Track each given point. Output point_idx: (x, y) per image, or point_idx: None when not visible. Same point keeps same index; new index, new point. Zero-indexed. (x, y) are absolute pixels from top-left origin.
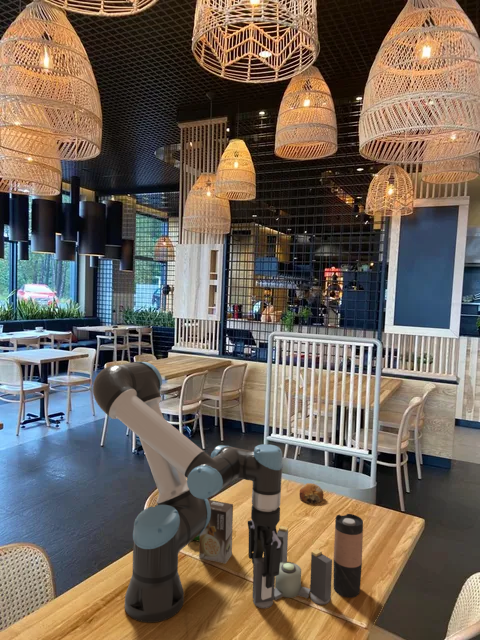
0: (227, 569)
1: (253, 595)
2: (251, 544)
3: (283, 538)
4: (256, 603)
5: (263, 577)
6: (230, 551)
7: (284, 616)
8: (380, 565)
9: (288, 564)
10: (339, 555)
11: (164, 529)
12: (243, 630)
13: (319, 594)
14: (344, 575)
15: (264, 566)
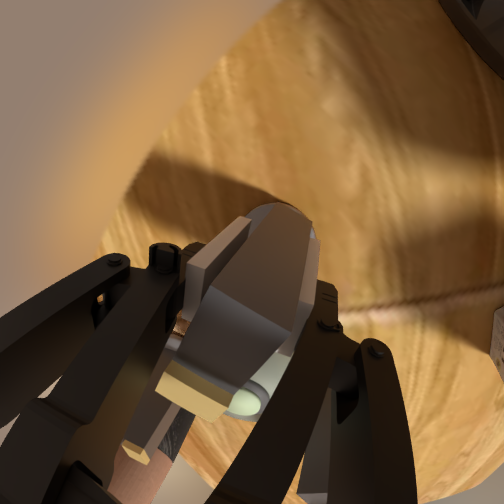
0: (481, 297)
1: (299, 219)
2: (368, 443)
3: (299, 489)
4: (274, 204)
5: (197, 257)
6: (497, 356)
7: (183, 235)
8: (193, 453)
9: (245, 409)
10: (120, 450)
11: None
12: (224, 79)
13: (161, 355)
14: None
15: (158, 298)
